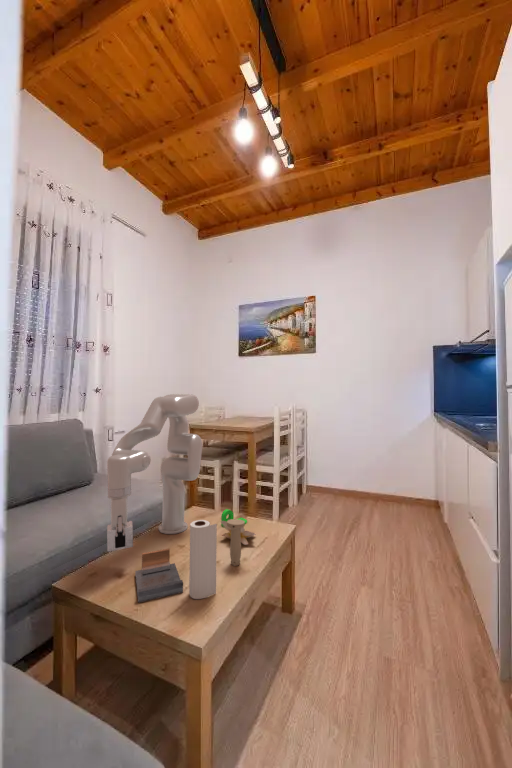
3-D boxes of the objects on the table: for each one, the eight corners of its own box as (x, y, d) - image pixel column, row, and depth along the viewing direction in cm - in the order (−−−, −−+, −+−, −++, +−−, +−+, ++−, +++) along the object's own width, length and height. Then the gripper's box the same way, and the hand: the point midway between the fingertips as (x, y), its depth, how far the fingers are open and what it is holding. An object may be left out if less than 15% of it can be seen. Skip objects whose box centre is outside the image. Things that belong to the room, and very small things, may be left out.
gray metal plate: (135, 575, 109) (135, 566, 109) (174, 567, 114) (174, 558, 114) (138, 602, 95) (138, 592, 95) (183, 592, 100) (183, 582, 100)
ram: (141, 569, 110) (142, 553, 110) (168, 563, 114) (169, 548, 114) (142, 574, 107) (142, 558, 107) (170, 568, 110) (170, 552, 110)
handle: (229, 559, 120) (229, 518, 120) (245, 562, 118) (246, 520, 119) (224, 566, 115) (225, 523, 116) (241, 568, 114) (242, 525, 114)
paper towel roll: (185, 594, 99) (185, 523, 99) (199, 585, 104) (200, 517, 104) (201, 604, 94) (202, 529, 95) (216, 594, 99) (216, 523, 100)
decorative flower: (263, 540, 136) (263, 516, 136) (249, 551, 126) (249, 525, 126) (232, 532, 143) (233, 510, 144) (217, 543, 133) (218, 518, 134)
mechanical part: (229, 532, 144) (229, 514, 144) (221, 528, 148) (221, 510, 149) (249, 525, 152) (249, 508, 152) (241, 521, 157) (241, 504, 157)
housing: (107, 544, 114) (107, 520, 114) (132, 540, 117) (131, 516, 117) (107, 551, 109) (107, 526, 109) (132, 546, 112) (132, 522, 112)
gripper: (108, 485, 119) (108, 534, 119) (107, 501, 103) (107, 557, 104) (130, 482, 122) (130, 530, 122) (132, 497, 106) (132, 552, 107)
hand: (120, 542), depth 113 cm, fingers closed on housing, 5 cm apart
